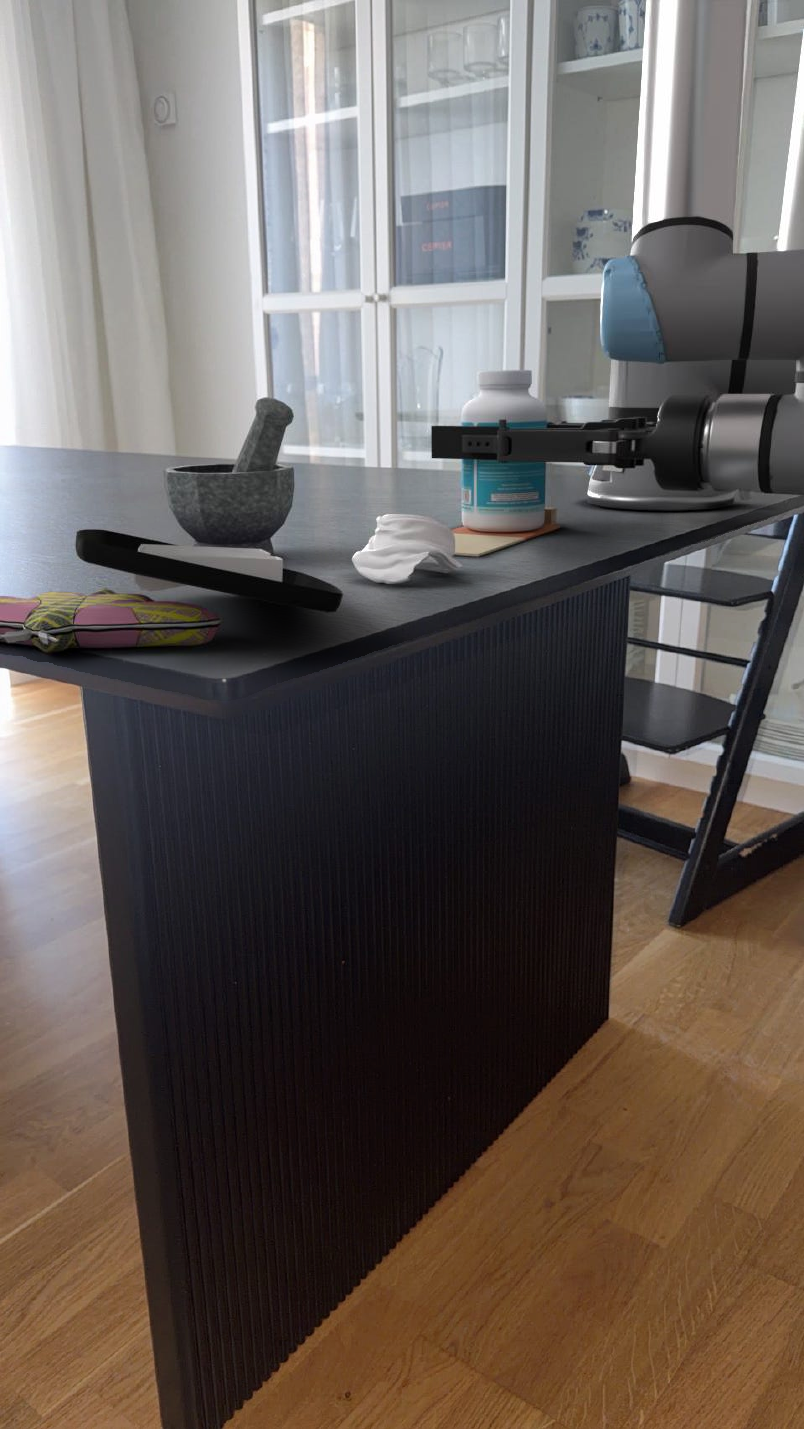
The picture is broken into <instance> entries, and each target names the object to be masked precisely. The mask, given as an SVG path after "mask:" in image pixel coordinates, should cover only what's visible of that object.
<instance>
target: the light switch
mask: <svg viewBox="0 0 804 1429" xmlns="http://www.w3.org/2000/svg"><path fill="white" fill-rule="evenodd" d="M75 534H76V535H75V544H74V545H75V552H76V556H77V557H78V558H79V559H80V560H81V561H83V562H85V563H88V564H91V565H96V566H100V567H103V568H107V569H112V570H116V571H120V572H124V573H128V574H132V575H134V584H135V585H136V586H137V587H138V589H139V590H140V591H147V592H160V591H161V592H162V591H166V590H168V589H174V588H181V587H185V586H190V587H195V588H200V589H204V590H210V591H213V592H214V591H215V592H220V593H224V594H228V595H234V596H239V597H242V598H243V597H244V598H249V599H254V600H259V601H263V602H268V603H272V604H276V605H283V606H289V607H294V608H298V609H299V608H300V609H306V610H311V611H318V612H324V613H336V612H337V610H338V609H339V608H340V606H341V602H342V599H343V597H344V592H343V590H341V589H340V588H339V587H337V586H335V585H334V584H332V583H329V582H327V581H324V580H322V579H320V578H317V577H315V576H313V575H309V574H307V573H304V572H301V571H298V570H294V569H290V568H289V569H288V568H285V567H284V566H283V565H284V560H283V558H281V557H279V556H276V555H274V556H271V554H270V553H268V552H266V551H264V550H262V549H250V548H225V547H201V546H194V545H178V544H174V543H169V542H164V541H159V540H155V539H149V538H145V537H142V536H141V537H140V536H135V535H131V534H127V533H121V532H116V531H112V530H106V529H98V528H97V529H95V528H92V529H90V528H89V529H87V528H86V529H80V530H78V531H76V533H75Z"/></svg>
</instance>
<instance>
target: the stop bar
mask: <svg viewBox="0 0 804 1429" xmlns="http://www.w3.org/2000/svg"><path fill="white" fill-rule="evenodd" d="M557 509H558V508H557V507H551V506H549V507H548V506H545V520H544V523H543V525H557V512H558V510H557Z"/></svg>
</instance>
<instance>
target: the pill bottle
mask: <svg viewBox="0 0 804 1429" xmlns="http://www.w3.org/2000/svg"><path fill="white" fill-rule="evenodd" d="M532 373H533V371H532V370H531V369H506V370H505V369H504V370H503V369H502V370H480V371H477V374H476V375H477V378H476V385H477V388H478V389H479V394H478V396H476V397H474V398H471V399H470V400H468V401H467V402H466V403H465V404H464V406H463V407H462V410H461V426H499V420H501V419H506V427H509V428H510V429H540V428H547V422H548V412H547V411H548V410H547V407H546V405H545V403H543V401H542V400H541V399H539V398H538V397H535V396H532V395H531V394H530V392H529V389H530V388H531V387H532V386H531V385H532V384H533V377H532V376H533V374H532ZM546 476H547V462H507V463H501V462H498V461H497V460H477V459H461V522H462V525H463V526H465V527H466V528H468V529H470V530H474V531H481V532H522V531H530V530H535V529H538V528H540V527H541V526H542V525H543V523H544V520H545V507H546V483H547V481H546V479H547V478H546Z"/></svg>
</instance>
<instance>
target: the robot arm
mask: <svg viewBox="0 0 804 1429" xmlns="http://www.w3.org/2000/svg"><path fill="white" fill-rule="evenodd" d="M748 16H749V0H646V4H645V21H644V35H643V37H644V38H643V50H642V66H641V67H642V69H641V84H640V102H639V116H638V117H639V118H638V132H637V133H638V135H637V150H636V164H635V166H636V167H635V180H634V182H635V184H634V200H633V217H632V232H631V234H632V235H631V248H630V254H625V255H624V256H622V257H614V258H611V259H609V260H608V261H607V262H606V264H605V266H604V268H603V273H602V283H601V295H600V317H599V318H600V320H599V322H600V326H599V327H600V328H599V331H600V333H599V334H600V346H601V350H602V351H603V353H604V355H605V356H606V357H608V358H609V359H610V360H611V361H610V378H609V394H608V395H609V396H608V397H609V399H608V416H607V417H608V418H607V419H602V420H601V421H586V422H568V421H566V420H560V421H559V422H556V423H555V422H553V421H547V428H540V429H510V428H509V427H506V419H501V420H499V426H462V425H431V428H430V429H431V431H430V432H431V434H430V435H431V436H430V437H431V439H430V440H431V441H430V442H431V443H430V444H431V459H439V460H440V459H442V460H446V459H447V460H449V459H450V460H462V459H477V460H497V461H498V462H501V463H507V462H546V463H575V464H576V463H582V464H583V465H584V466H594V467H593V470H592V472H591V475H590V479H589V483H588V488H587V502H588V503H589V504H591V505H593V506H597V507H598V506H599V507H604V508H612V509H622V510H639V511H640V510H641V511H697V510H713V509H720V508H725V507H730V506H732V505H734V504H735V494H736V493H735V492H736V491H738V499H739V500H740V501H749V500H751V498H752V495H753V493H756V494H761V493H763V494H770V495H771V494H773V495H789V496H790V495H792V496H804V30H802V31H803V32H802V40H801V49H800V55H799V56H800V57H799V65H798V75H797V82H796V89H795V98H794V99H795V101H794V106H793V107H794V108H793V116H792V124H791V132H790V141H789V150H788V158H787V166H786V174H785V180H784V181H785V182H784V191H783V198H782V207H781V216H780V217H781V218H780V223H779V230H778V231H779V233H778V239H777V241H776V243H775V244H773V245H772V246H771V247H770V248H769V249H767V251H759V252H756V251H755V252H753V251H751V252H745V253H738V252H734V239H735V238H734V236H735V224H736V222H735V221H736V208H737V192H738V191H737V190H738V174H739V173H738V172H739V159H740V146H741V144H740V143H741V130H742V129H741V128H742V127H741V126H742V112H743V111H742V110H743V95H744V94H743V93H744V82H745V81H744V80H745V67H746V66H745V64H746V47H747V32H748ZM752 492H753V493H752Z"/></svg>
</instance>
